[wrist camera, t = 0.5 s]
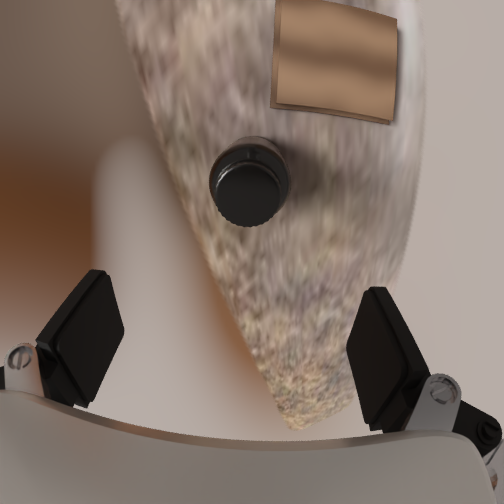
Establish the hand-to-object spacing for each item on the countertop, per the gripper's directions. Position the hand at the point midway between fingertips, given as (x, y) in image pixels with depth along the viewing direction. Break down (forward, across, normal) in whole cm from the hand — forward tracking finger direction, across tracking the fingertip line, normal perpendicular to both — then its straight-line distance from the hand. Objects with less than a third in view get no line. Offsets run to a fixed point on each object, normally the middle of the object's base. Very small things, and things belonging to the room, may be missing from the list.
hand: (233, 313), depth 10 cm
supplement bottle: (+24, 0, 0) cm, 24 cm away
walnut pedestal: (+23, -8, -14) cm, 28 cm away
